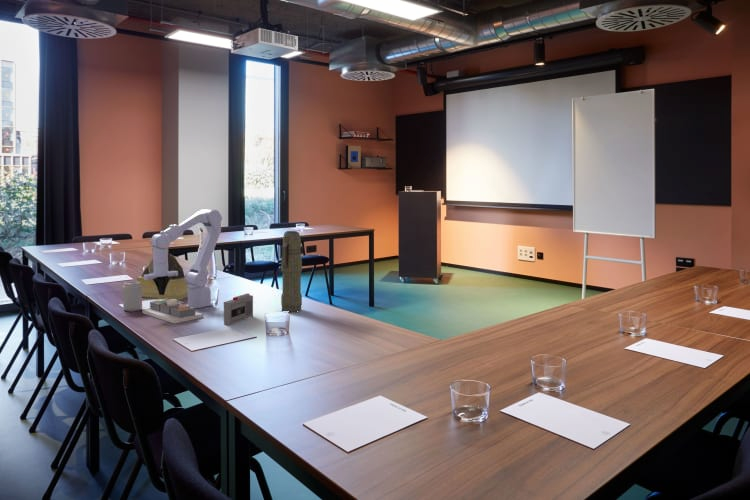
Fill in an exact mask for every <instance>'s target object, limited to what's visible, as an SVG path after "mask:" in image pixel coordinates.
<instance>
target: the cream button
mask: <svg viewBox="0 0 750 500" xmlns="http://www.w3.org/2000/svg"><path fill="white" fill-rule="evenodd" d="M166 300H167V306H169V307H171V306H177V303H178V300H177V299H166Z"/></svg>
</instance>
